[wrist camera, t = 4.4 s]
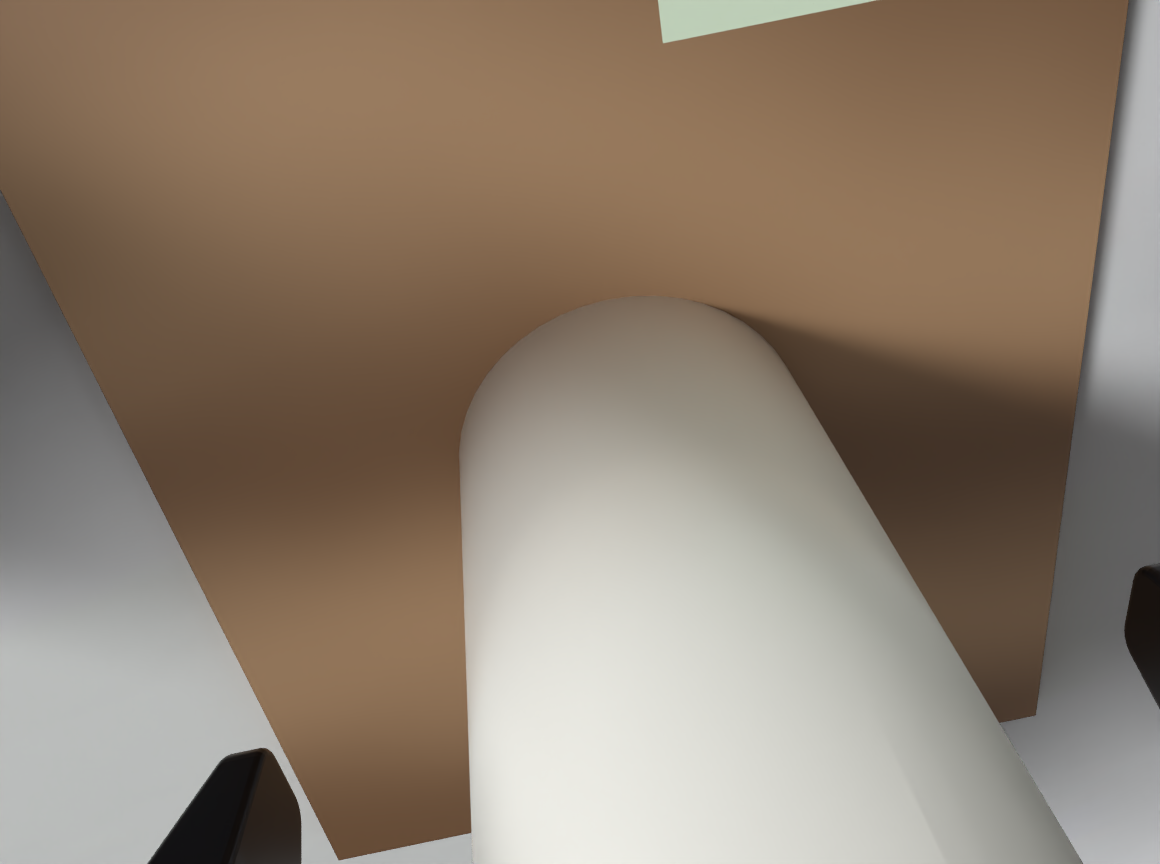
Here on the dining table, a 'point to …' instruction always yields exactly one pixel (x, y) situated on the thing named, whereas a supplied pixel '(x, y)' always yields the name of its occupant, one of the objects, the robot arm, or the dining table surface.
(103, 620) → the dining table surface
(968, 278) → the walnut mat
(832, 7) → the green mat
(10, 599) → the dining table surface
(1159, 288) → the dining table surface
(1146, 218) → the dining table surface
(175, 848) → the robot arm
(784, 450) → the bottle
